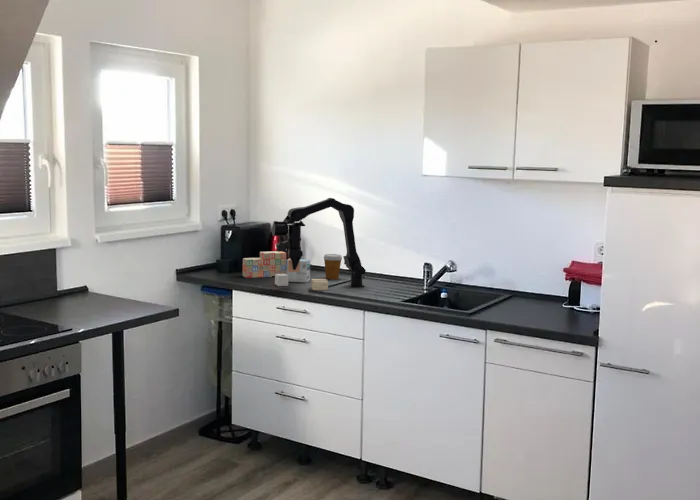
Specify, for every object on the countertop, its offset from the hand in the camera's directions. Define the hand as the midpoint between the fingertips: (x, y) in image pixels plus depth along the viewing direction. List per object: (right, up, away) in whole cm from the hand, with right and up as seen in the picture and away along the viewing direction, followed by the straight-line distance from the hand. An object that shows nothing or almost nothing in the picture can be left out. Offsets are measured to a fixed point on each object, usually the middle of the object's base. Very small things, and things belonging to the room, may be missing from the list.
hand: (293, 268), depth 358 cm
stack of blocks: (-17, -5, +32) cm, 37 cm away
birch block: (+12, -9, +1) cm, 15 cm away
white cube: (-6, -8, +8) cm, 13 cm away
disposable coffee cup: (+17, -6, +30) cm, 35 cm away
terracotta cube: (0, -1, 0) cm, 1 cm away
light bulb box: (+1, -7, +20) cm, 22 cm away
